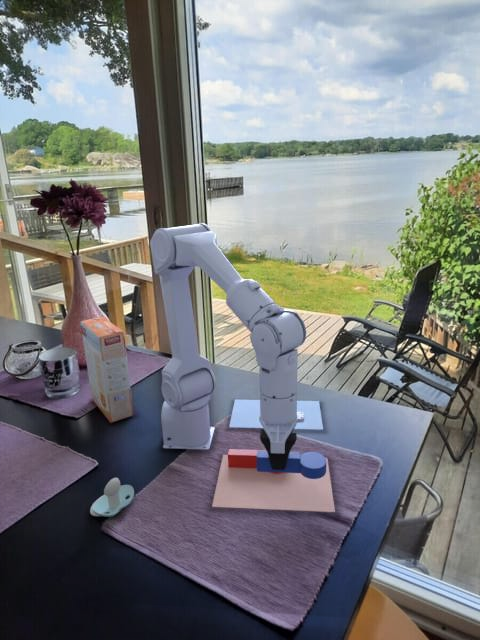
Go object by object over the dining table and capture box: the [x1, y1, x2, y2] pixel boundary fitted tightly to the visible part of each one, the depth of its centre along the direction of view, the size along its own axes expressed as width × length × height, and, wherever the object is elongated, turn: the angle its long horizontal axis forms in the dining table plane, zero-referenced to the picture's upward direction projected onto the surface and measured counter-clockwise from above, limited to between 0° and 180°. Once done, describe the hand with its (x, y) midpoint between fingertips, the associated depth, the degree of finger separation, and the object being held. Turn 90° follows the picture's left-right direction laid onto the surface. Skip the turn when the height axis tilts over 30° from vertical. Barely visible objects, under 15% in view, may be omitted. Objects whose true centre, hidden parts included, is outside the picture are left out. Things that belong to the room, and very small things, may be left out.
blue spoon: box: [257, 450, 327, 479], centre depth 72 cm, size 11×4×3 cm, turn 84°
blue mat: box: [228, 399, 324, 431], centre depth 99 cm, size 20×12×1 cm, turn 85°
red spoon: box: [227, 448, 281, 474], centre depth 82 cm, size 11×4×3 cm, turn 85°
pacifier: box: [89, 477, 135, 518], centre depth 73 cm, size 7×6×6 cm
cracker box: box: [80, 316, 134, 424], centre depth 102 cm, size 14×6×21 cm, turn 34°
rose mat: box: [211, 454, 336, 513], centre depth 78 cm, size 20×14×1 cm
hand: (278, 463), depth 72 cm, fingers closed on blue spoon, 2 cm apart
